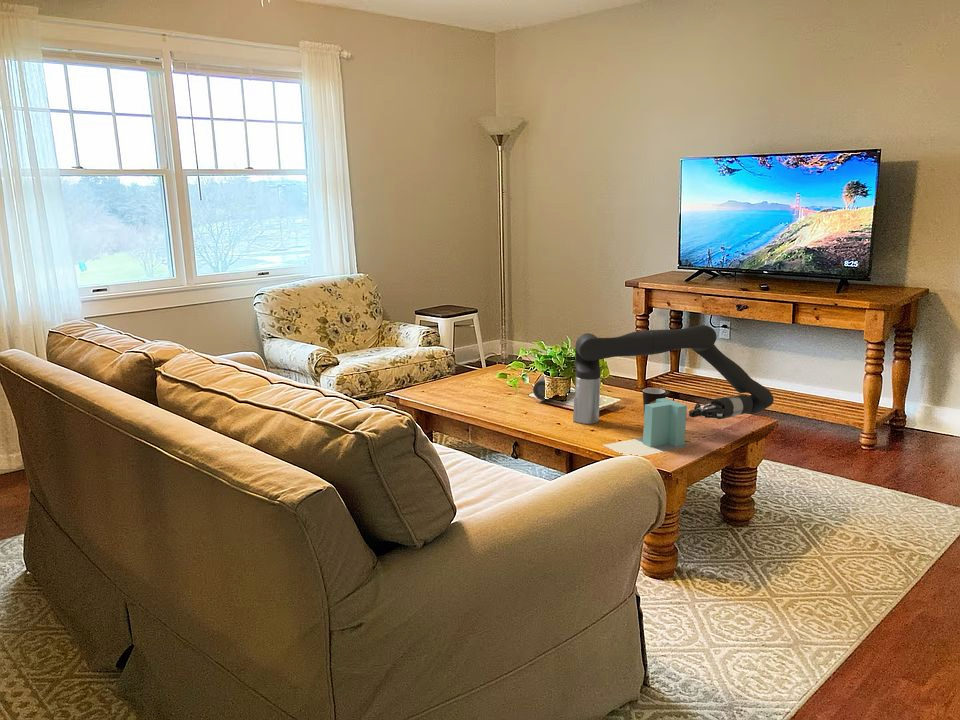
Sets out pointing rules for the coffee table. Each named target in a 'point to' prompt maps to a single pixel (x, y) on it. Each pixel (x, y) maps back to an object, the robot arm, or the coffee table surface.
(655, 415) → the tee block
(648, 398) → the coffee mug
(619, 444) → the felt mat
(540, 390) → the bluetooth speaker
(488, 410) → the coffee table surface
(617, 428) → the coffee table surface
